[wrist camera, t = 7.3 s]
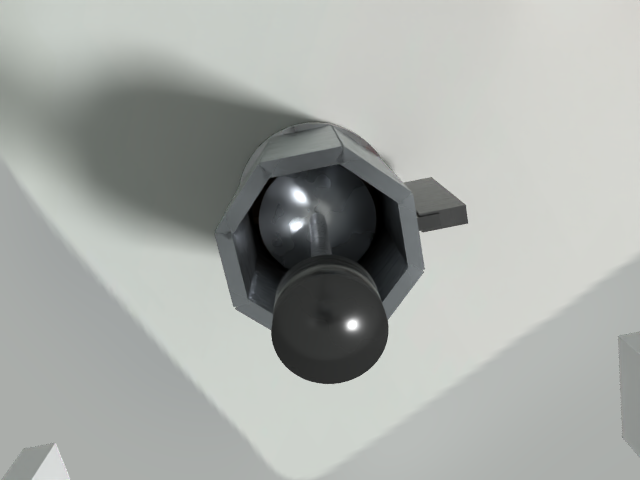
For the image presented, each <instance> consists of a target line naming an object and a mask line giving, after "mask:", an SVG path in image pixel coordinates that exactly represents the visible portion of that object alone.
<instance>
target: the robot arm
mask: <svg viewBox="0 0 640 480" xmlns="http://www.w3.org/2000/svg"><path fill="white" fill-rule="evenodd" d="M618 344H619V368H620V391H621V415H622V438H623V439H624V440H625V441H626V442H627V443H628V445H629V446H630V447H631V448H632V449H633V450H634V451H635V453H636V454H637V455H638V456H639V457H640V332H636V333H631V334H625V335H620V336H618ZM2 480H70V477H69V475H68V473H67V470H66V467H65V465H64V463H63V460H62V458H61V455H60V453H59V450H58V447H57V445H56V443H51V444H46V445H41V446H35V447H30V448H25V449H23V450H22V452H21V453H20V455H19V456H18V457H17V459H16V460H15V462H14V463H13V464H12V466H11V467H10V468H9V470H8V471H7V473H6V474H5V475H4V477H3V478H2Z"/></svg>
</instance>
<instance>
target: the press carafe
mask: <svg viewBox="0 0 640 480" xmlns="http://www.w3.org/2000/svg"><path fill="white" fill-rule="evenodd" d="M337 164H339V165H342V166H344V167H345V168H347V169H348V170H350V171H351V172H353V173H354V174H356V175H357V176H358V177H359V178H360V179H361V180H362V182H363V183H364V184H365V186H366V187H367V189H368V191H369V193H370V194H371V197H372V199H373V202H374V205H375V210H376V227H375V233H374V236H373V239H372V241H371V243H370V245H369V247H368V249H367V250H366V252H365V253H364V254H363V255H362V257H361V258H360V259H359V260H358V261H357V262H356V263H358V264H359V265H361V266H362V267H363V268H364V269H365V270H366V271H367V272H368V273H369V274H370V276H371V277H372V279H373V280H374V282H375V285H376V287H377V290H378V293H379V295H380V298H381V301H382V304H383V307H384V310H385V313H386V316H387V320H388V319H389V318H390V316H391V315H392V314H393V312H394V311H395V310H396V308H397V307H398V306H399V304H400V303H401V302H402V300H403V299H404V298H405V296H406V295H407V294H408V293H409V291H410V290H411V289H412V287H413V286H414V285H415V283H416V282H417V281H418V279H419V278H420V277H421V275H422V274H423V273H424V271H423V270H424V269H425V268H424V262H423V255H422V248H421V242H420V235H419V231H422V232H427V231H432V230H437V229H442V228H447V227H452V226H457V225H462V224H467V223H468V219H467V211H466V205H465V204H464V203H463V202H462V201H460V200H459V199H458V198H457V197H455V196H454V195H453V194H452V193H450V192H449V191H448V190H447V189H445V188H444V187H443V186H442V185H440V184H439V183H438V182H437V181H435V180H434V179H433V178H432V177H430V178H425V179H420V180H415V181H410V182H405V183H403V182H402V181H401V180H400V179H399V178H398V177H397V175H396V174H395V173H394V172H393V171H392V170H391V169H390V168H389V167H388V166H387V165H386V164H385V162H384V161H383V160H382V159H381V158H380V156H379V155H378V153H377V152H376V151H375V150H374V149H373V148H372V147H371V146H370V144H369V143H368V142H367V141H365V140H364V139H363V138H361V137H360V136H359V135H357V134H356V133H354V132H352V131H350V130H348V129H346V128H343V127H341V126H338V125H334V124H330V123H322V122H309V123H301V124H297V125H293V126H290V127H287V128H285V129H283V130H280V131H279V132H277V133H275V134H274V135H272V136H271V137H269V138H268V139H267V140H265V141H264V142H263V143H262V144H261V145H260V146H259V147H258V148H257V149H256V151H255V152H254V153H253V155H252V156H251V157H250V159H249V161H248V163H247V165H246V166H245V168H244V171H243V174H242V176H241V179H240V184H239V188H238V190H237V192H236V193H235V195H234V197H233V199H232V201H231V203H230V204H229V206H228V208H227V210H226V212H225V214H224V215H223V217H222V219H221V221H220V223H219V225H218V226H217V228H216V230H215V238H216V242H217V246H218V249H219V253H220V257H221V261H222V265H223V269H224V272H225V276H226V280H227V284H228V288H229V292H230V295H231V299H232V303H233V307H235V306H236V308H235V309H236V310H238V311H239V312H241V313H243V314H245V315H246V316H248V317H250V318H251V319H253V320H255V321H256V322H258V323H260V324H262V325H263V326H265V327H267V328H268V329H270V330H271V328H272V319H273V311H274V302H275V295H276V291H277V288H278V285H279V283H280V281H281V280H282V278H283V277H284V275H285V274H286V273H287V272H288V271H289V270H290V269H288V268H286V267H285V266H283V265H282V264H280V263H279V262H278V261H277V260H276V259H275V258H274V257H273V256H272V255H271V253H270V252H269V251H268V249H267V247H266V246H265V244H264V242H263V239H262V236H261V233H260V227H259V212H260V207H261V203H262V200H263V197H264V195H265V192H266V190H267V189H268V187H269V185H270V184H271V183H272V181H273V180H274V179H275V178H276V177H277V176H282V175H287V174H292V173H297V172H302V171H307V170H312V169H317V168H322V167H327V166H332V165H337Z"/></svg>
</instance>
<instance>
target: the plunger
mask: <svg viewBox="0 0 640 480" xmlns="http://www.w3.org/2000/svg"><path fill="white" fill-rule="evenodd" d="M259 227H260V233H261V236H262V239H263V242H264V244H265V246H266V247H267V249H268V251H269V252H270V253H271V255H272V256H273V257H274V258H275V259H276V260H277V261H278V262H279V263H280V264H282V265H283V266H285V267H286V268H288V269H290V270H289V271H288V272H287V273H286V274H285V275H284V277H283V278H282V280H281V281H280V283H279V285H278V288H277V291H276V295H275V302H274V311H273V319H272V328H271V335H272V342H273V346H274V349H275V351H276V353H277V355H278V357H279V358H280V360H281V361H282V363H283V364H284V365H285V366H286V367H287V368H288V369H289V370H290V371H292V372H293V373H294V374H296V375H297V376H299V377H301V378H303V379H306V380H309V381H311V382H316V383H323V384H335V383H342V382H346V381H349V380H352V379H354V378H356V377H358V376H360V375H362V374H363V373H365V372H366V371H368V370H369V369H370V368H371V367H372V366H373V365H374V364H375V363H376V362H377V361H378V359H379V358H380V356H381V355H382V353H383V351H384V349H385V346H386V343H387V338H388V320H387V316H386V313H385V310H384V307H383V304H382V301H381V298H380V295H379V293H378V290H377V287H376V285H375V282H374V280H373V279H372V277H371V276H370V274H369V273H368V272H367V271H366V270H365V269H364V268H363V267H362V266H361V265H359V264H358V263H356V262H357V261H358V260H359V259H360V258H361V257H362V255H363V254H364V253H365V252H366V250H367V249H368V247H369V245H370V243H371V241H372V239H373V236H374V233H375V227H376V210H375V205H374V202H373V199H372V197H371V194H370V193H369V191H368V189H367V187H366V186H365V184H364V183H363V182H362V180H361V179H360V178H359V177H358V176H357V175H356V174H354V173H353V172H351V171H350V170H348V169H347V168H345V167H344V166H342V165H339V164H337V165H332V166H327V167H322V168H317V169H312V170H307V171H302V172H297V173H292V174H287V175H282V176H277V177H276V178H275V179H274V180H273V181H272V183H271V184H270V185H269V187H268V189H267V190H266V192H265V195H264V197H263V200H262V203H261V207H260V212H259Z"/></svg>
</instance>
